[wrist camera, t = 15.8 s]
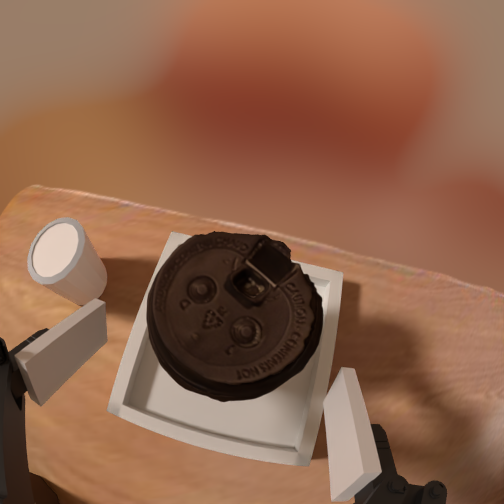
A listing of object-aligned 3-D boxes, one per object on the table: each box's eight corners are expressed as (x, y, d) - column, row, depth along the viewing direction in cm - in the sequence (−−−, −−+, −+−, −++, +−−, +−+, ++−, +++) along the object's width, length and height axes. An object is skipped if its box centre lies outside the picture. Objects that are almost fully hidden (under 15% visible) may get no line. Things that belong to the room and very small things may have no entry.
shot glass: (51, 289, 24) (17, 260, 18) (85, 243, 27) (58, 206, 21) (88, 323, 23) (51, 299, 17) (124, 271, 26) (98, 234, 20)
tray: (334, 282, 27) (343, 272, 25) (301, 460, 18) (308, 466, 16) (175, 244, 28) (171, 231, 26) (117, 410, 19) (106, 410, 17)
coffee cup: (275, 299, 25) (311, 211, 14) (291, 388, 21) (355, 379, 10) (180, 309, 24) (137, 226, 12) (188, 400, 20) (137, 407, 8)
